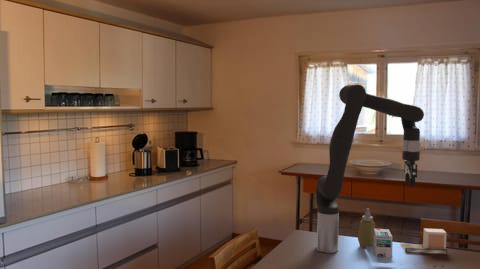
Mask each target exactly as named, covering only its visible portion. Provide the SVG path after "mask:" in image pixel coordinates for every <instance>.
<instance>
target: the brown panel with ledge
mask: <svg viewBox="0 0 480 269" xmlns="http://www.w3.org/2000/svg"><path fill="white" fill-rule="evenodd" d="M399 245H400V247H401V248H402V249H403V251H404V252H405V253H406V254H407V253H408V254H425V255H426V254H429V255H448V249H447V248H446V249H432V248H423V242H422V243H421V244H419V243H418V244H417V243H414V244H413V243H399Z"/></svg>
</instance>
